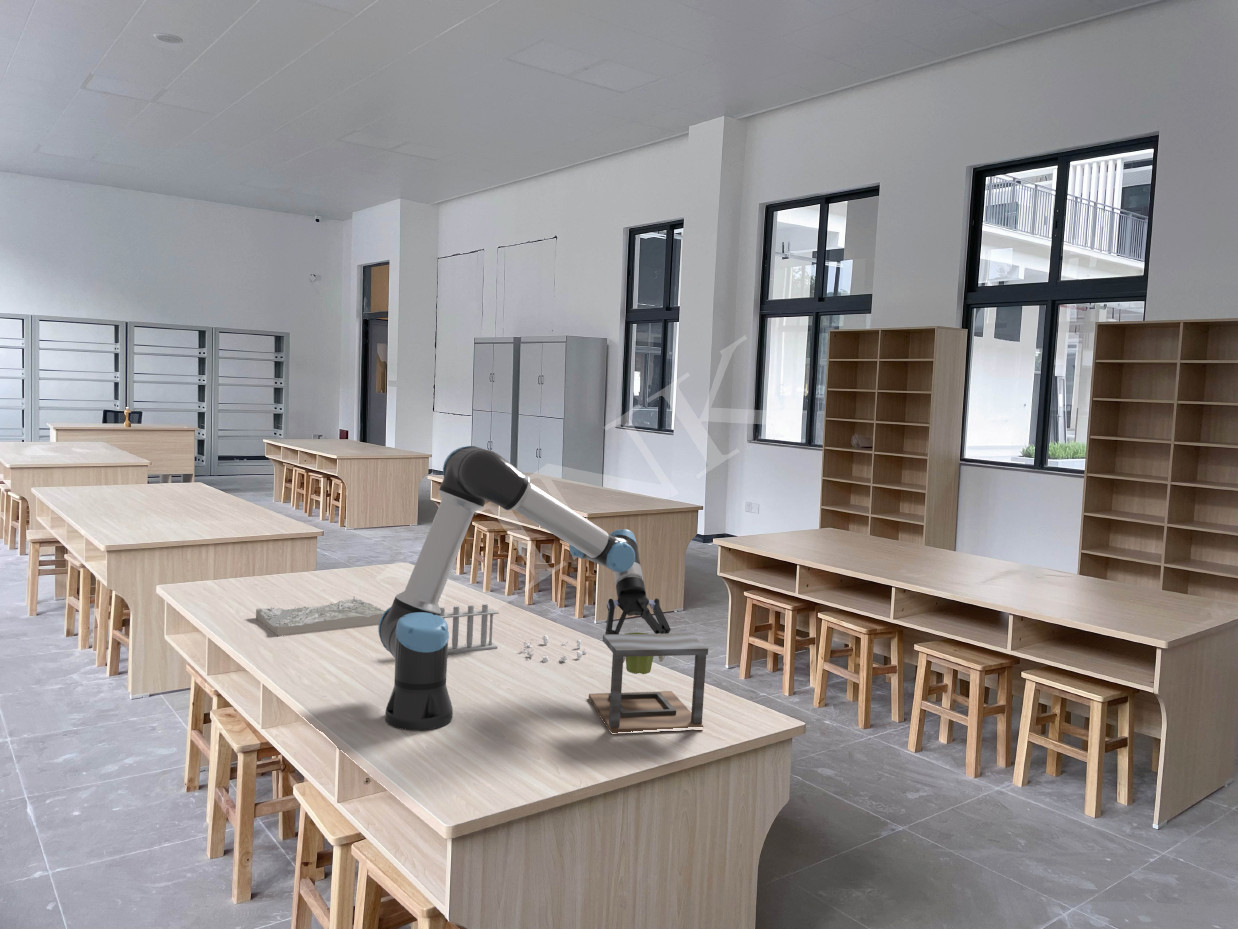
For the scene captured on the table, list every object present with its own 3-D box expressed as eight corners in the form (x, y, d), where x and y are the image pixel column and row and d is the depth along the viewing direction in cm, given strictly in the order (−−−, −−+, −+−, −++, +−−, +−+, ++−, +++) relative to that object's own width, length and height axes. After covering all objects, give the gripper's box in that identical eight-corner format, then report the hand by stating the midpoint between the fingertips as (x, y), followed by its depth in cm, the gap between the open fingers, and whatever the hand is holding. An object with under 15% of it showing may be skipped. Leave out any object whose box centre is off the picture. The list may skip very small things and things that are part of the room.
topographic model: (387, 625, 283) (388, 610, 283) (278, 638, 263) (278, 621, 262) (359, 609, 302) (360, 594, 302) (255, 620, 281) (256, 604, 281)
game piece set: (521, 643, 270) (521, 631, 270) (586, 646, 272) (587, 633, 272) (519, 663, 251) (520, 649, 251) (590, 665, 253) (590, 652, 253)
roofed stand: (588, 698, 224) (592, 622, 222) (671, 695, 229) (675, 621, 228) (611, 734, 201) (616, 650, 199) (703, 730, 206) (708, 648, 205)
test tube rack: (414, 657, 250) (416, 611, 249) (410, 653, 254) (412, 607, 253) (497, 649, 263) (499, 605, 262) (491, 645, 266) (493, 601, 265)
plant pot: (635, 662, 230) (637, 630, 229) (664, 671, 224) (666, 638, 223) (612, 670, 223) (614, 636, 222) (642, 679, 217) (644, 645, 216)
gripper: (665, 590, 240) (680, 665, 226) (586, 590, 234) (596, 668, 220) (672, 575, 234) (689, 651, 220) (591, 575, 228) (603, 653, 215)
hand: (642, 659), depth 220 cm, fingers closed on plant pot, 9 cm apart
